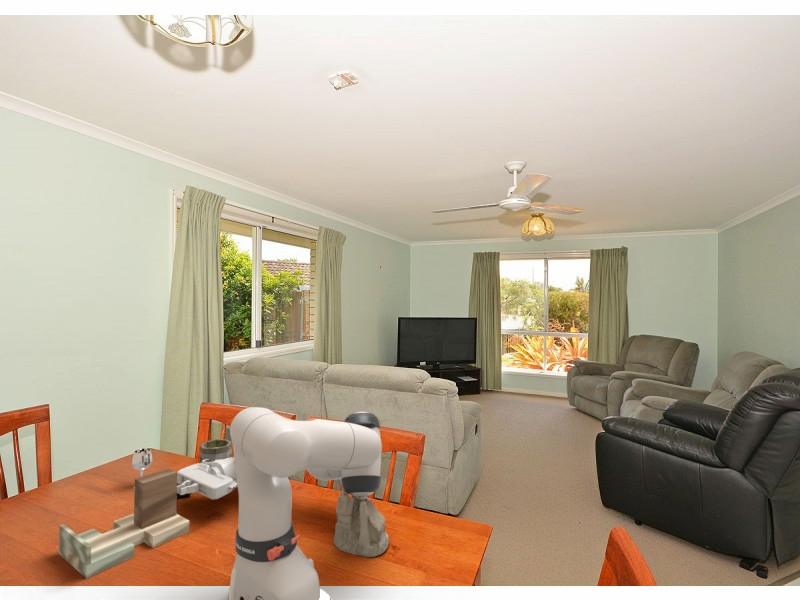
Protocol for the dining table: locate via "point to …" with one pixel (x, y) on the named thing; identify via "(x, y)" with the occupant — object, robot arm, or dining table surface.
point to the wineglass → (142, 460)
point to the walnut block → (155, 498)
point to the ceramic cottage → (359, 527)
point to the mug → (215, 449)
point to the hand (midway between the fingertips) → (178, 491)
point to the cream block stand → (115, 542)
